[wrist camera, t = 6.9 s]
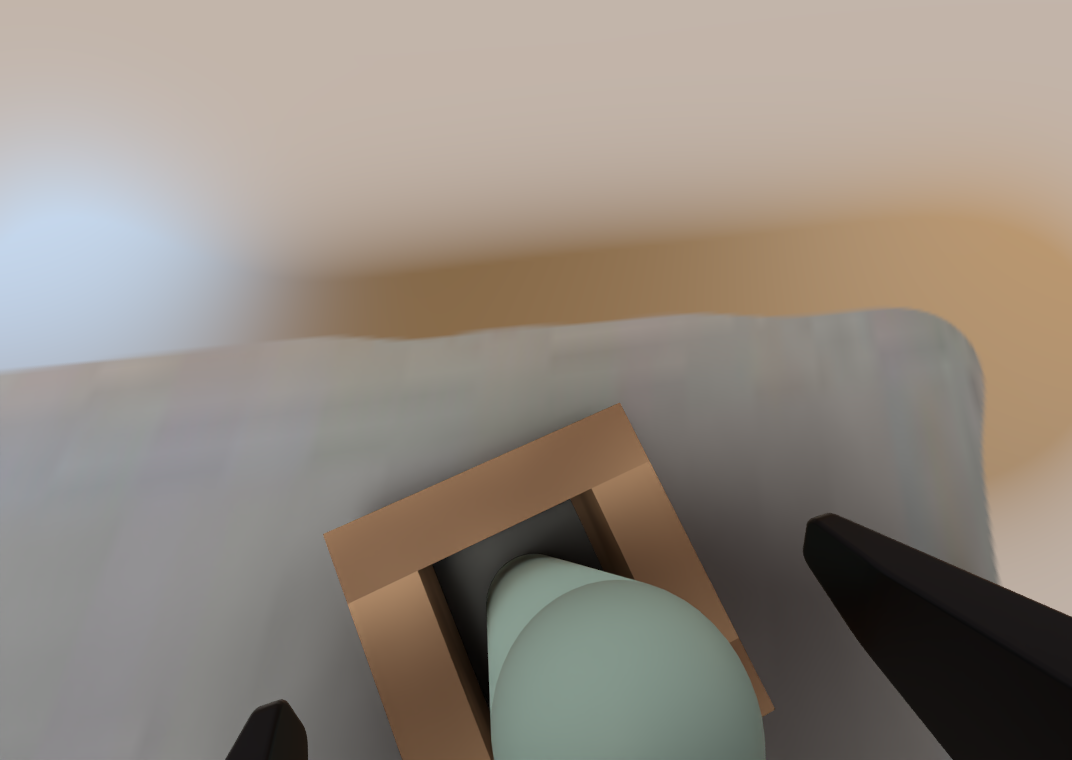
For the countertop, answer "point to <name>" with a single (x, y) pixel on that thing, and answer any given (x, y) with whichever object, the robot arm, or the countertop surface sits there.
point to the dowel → (610, 671)
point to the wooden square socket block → (475, 514)
